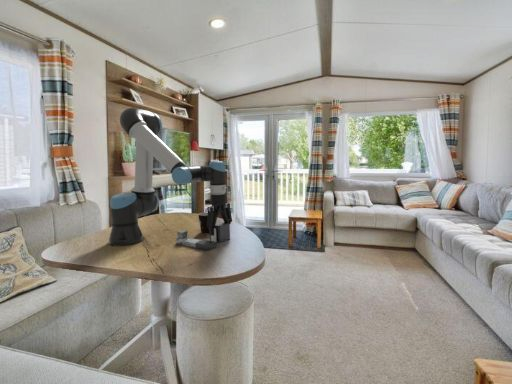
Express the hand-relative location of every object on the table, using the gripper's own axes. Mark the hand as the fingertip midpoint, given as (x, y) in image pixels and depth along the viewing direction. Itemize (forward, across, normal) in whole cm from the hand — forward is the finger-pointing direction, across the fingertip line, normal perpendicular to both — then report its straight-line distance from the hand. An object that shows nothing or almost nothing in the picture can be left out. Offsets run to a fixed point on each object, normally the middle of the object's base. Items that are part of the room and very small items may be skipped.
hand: (220, 239), depth 141 cm
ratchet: (0, -13, +4) cm, 14 cm away
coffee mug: (0, +9, +17) cm, 19 cm away
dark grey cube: (0, 0, 0) cm, 0 cm away
